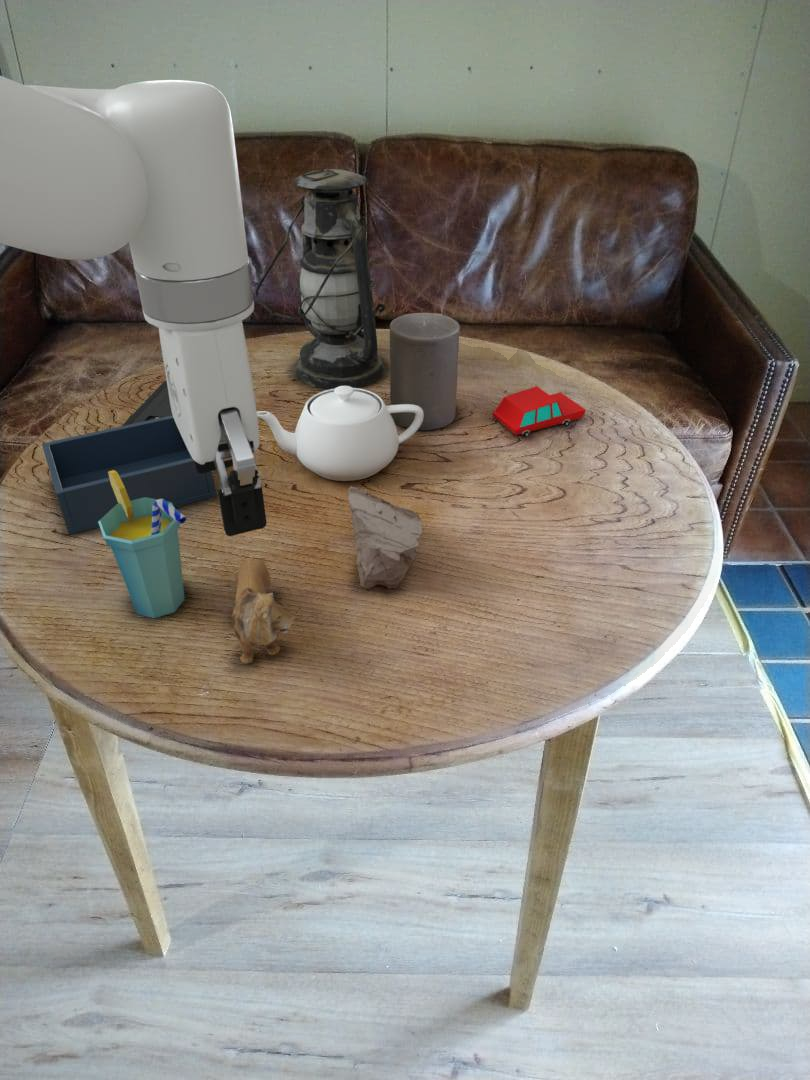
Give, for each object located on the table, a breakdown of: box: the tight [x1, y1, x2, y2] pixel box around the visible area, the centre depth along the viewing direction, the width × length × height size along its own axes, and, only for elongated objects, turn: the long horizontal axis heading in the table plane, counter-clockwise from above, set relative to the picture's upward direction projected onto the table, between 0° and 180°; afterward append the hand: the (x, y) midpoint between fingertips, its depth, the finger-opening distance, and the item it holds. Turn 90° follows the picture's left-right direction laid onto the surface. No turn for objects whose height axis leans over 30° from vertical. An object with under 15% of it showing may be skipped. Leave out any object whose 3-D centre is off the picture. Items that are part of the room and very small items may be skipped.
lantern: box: [255, 168, 386, 390], centre depth 118 cm, size 19×19×30 cm
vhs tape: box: [121, 380, 173, 426], centre depth 115 cm, size 14×8×2 cm, turn 170°
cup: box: [98, 470, 187, 619], centre depth 78 cm, size 14×8×15 cm, turn 50°
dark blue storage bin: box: [41, 415, 217, 535], centre depth 99 cm, size 18×13×6 cm
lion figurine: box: [231, 556, 295, 665], centre depth 77 cm, size 15×5×9 cm, turn 20°
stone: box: [347, 485, 423, 589], centre depth 87 cm, size 15×9×10 cm
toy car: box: [491, 385, 587, 437], centre depth 114 cm, size 6×12×4 cm, turn 117°
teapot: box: [257, 386, 424, 482], centre depth 102 cm, size 22×14×11 cm, turn 101°
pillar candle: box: [389, 312, 461, 431], centre depth 112 cm, size 10×10×15 cm
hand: (229, 497), depth 65 cm, fingers open, 9 cm apart
